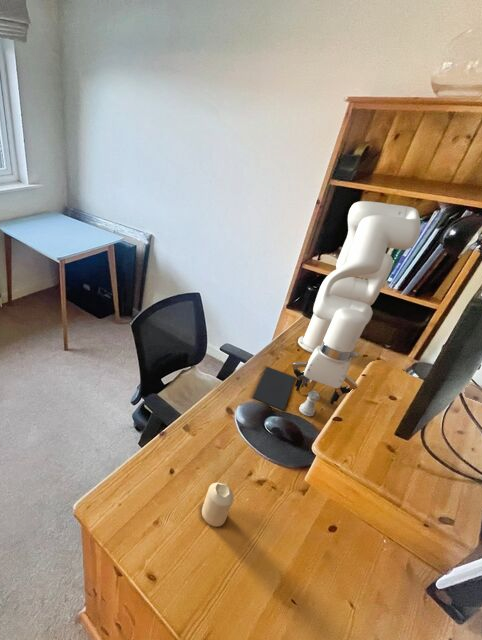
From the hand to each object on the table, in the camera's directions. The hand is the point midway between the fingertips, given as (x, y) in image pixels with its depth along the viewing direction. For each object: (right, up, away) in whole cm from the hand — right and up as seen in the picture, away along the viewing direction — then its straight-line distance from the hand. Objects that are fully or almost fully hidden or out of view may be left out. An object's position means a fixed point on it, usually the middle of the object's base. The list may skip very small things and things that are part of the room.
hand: (314, 395), depth 107 cm
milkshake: (+4, -2, +13) cm, 13 cm away
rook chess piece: (0, -7, +5) cm, 8 cm away
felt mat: (-6, 0, +14) cm, 15 cm away
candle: (-39, -23, -25) cm, 52 cm away
